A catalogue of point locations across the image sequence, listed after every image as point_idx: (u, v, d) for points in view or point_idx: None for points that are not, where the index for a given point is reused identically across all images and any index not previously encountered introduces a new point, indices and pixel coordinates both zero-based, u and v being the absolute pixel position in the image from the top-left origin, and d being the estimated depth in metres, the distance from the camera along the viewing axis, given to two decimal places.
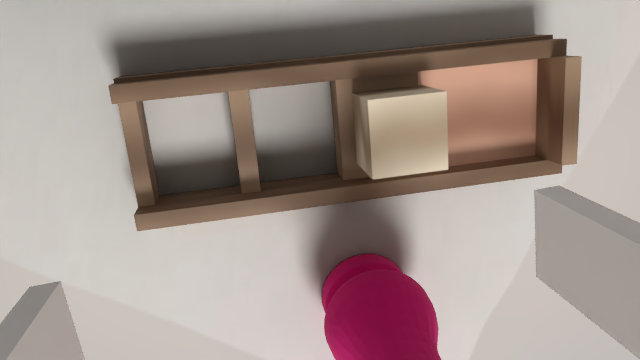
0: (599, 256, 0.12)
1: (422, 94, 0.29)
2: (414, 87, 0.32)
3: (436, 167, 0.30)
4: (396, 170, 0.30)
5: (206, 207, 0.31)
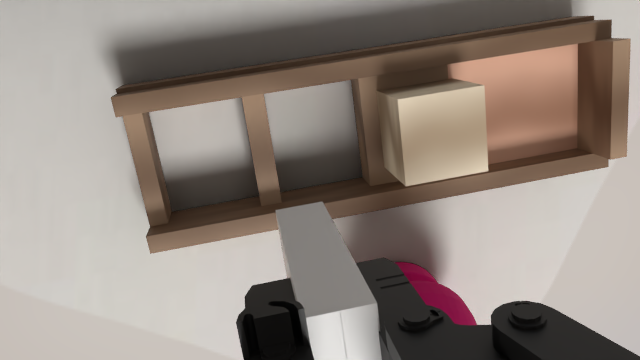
0: None
1: (457, 90, 0.26)
2: (445, 81, 0.29)
3: (475, 169, 0.28)
4: (432, 175, 0.27)
5: (224, 224, 0.29)
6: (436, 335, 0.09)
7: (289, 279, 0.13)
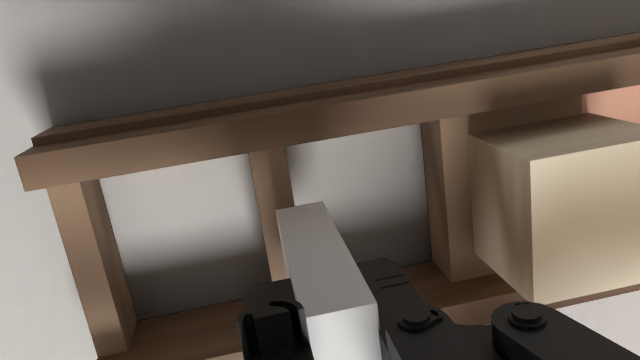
0: None
1: (633, 142, 0.15)
2: (582, 119, 0.18)
3: None
4: (578, 287, 0.16)
5: (218, 359, 0.17)
6: (436, 335, 0.09)
7: (289, 279, 0.13)
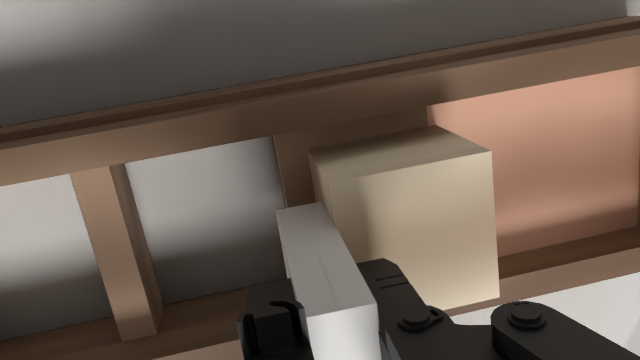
0: None
1: (442, 161, 0.14)
2: (423, 133, 0.17)
3: (476, 296, 0.15)
4: None
5: None
6: (436, 335, 0.09)
7: (289, 279, 0.13)
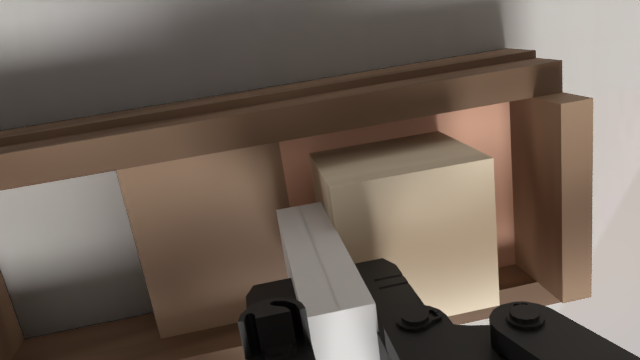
0: None
1: (443, 167, 0.14)
2: (425, 139, 0.17)
3: (476, 303, 0.15)
4: None
5: None
6: (435, 335, 0.09)
7: (290, 279, 0.13)
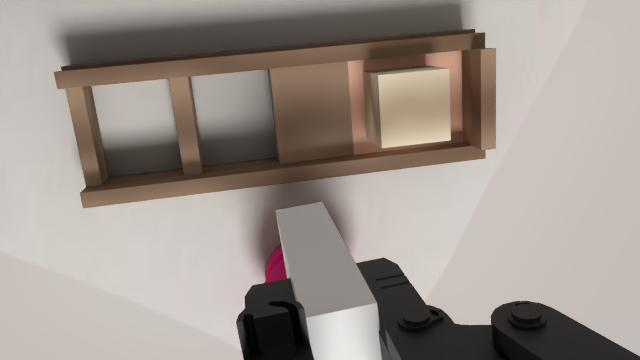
0: None
1: (427, 70, 0.32)
2: (420, 67, 0.35)
3: (439, 138, 0.33)
4: (403, 140, 0.33)
5: (148, 186, 0.34)
6: (436, 335, 0.09)
7: (289, 279, 0.13)
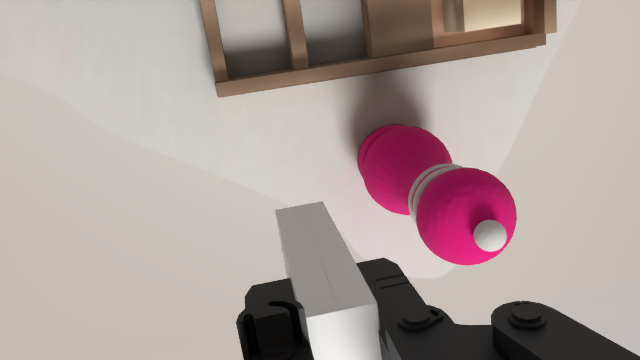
0: None
1: None
2: None
3: (512, 21, 0.40)
4: (482, 24, 0.40)
5: (269, 76, 0.41)
6: (436, 335, 0.09)
7: (289, 279, 0.13)
